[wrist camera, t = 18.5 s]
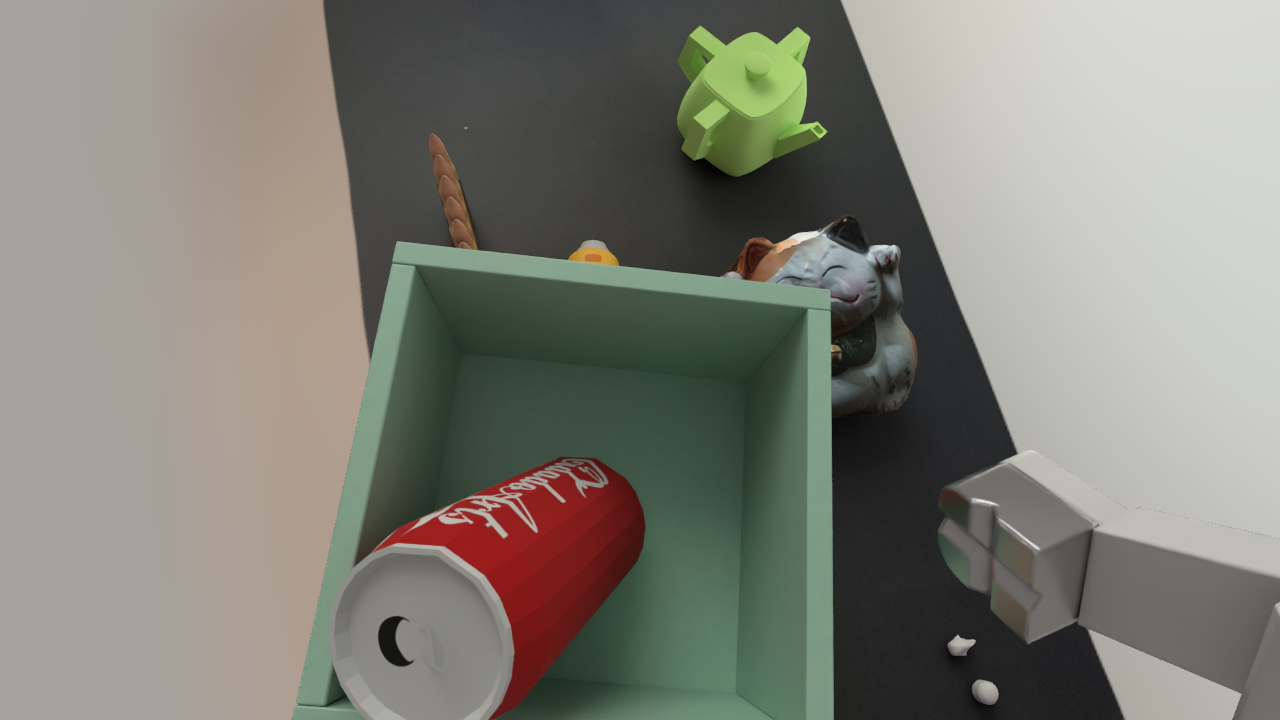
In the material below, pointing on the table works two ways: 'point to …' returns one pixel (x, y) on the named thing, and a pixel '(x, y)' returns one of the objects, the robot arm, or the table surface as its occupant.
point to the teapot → (744, 100)
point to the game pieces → (981, 688)
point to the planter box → (616, 468)
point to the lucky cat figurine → (847, 310)
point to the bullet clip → (453, 198)
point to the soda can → (483, 593)
